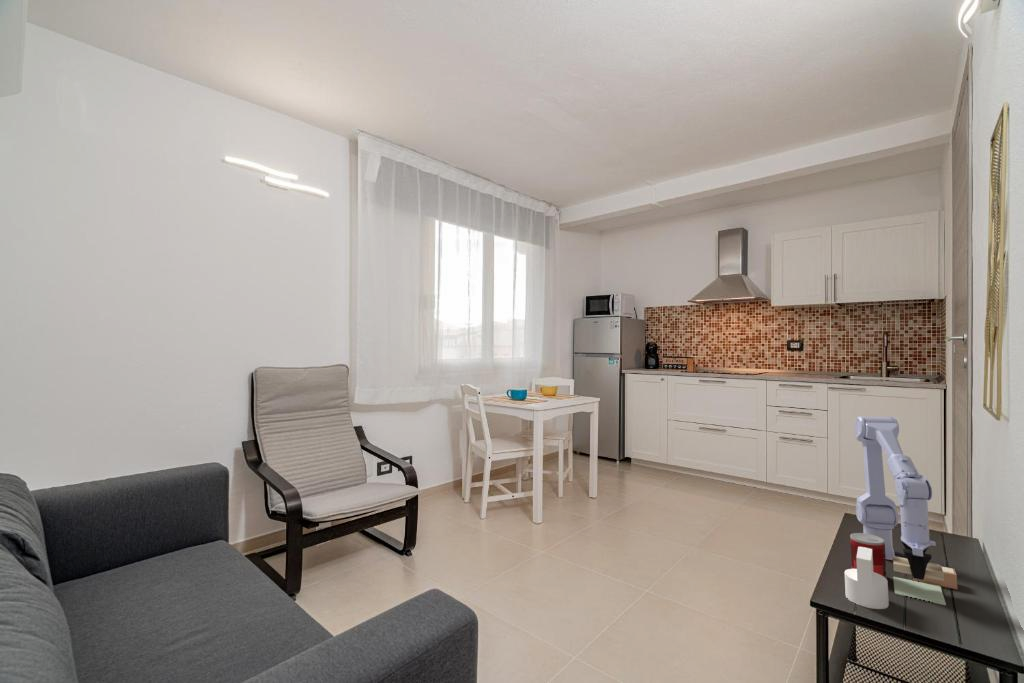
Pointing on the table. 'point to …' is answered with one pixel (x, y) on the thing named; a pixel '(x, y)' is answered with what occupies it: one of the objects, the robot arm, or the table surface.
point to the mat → (918, 590)
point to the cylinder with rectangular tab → (866, 582)
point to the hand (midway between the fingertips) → (917, 573)
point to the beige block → (931, 571)
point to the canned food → (872, 543)
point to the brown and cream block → (949, 579)
